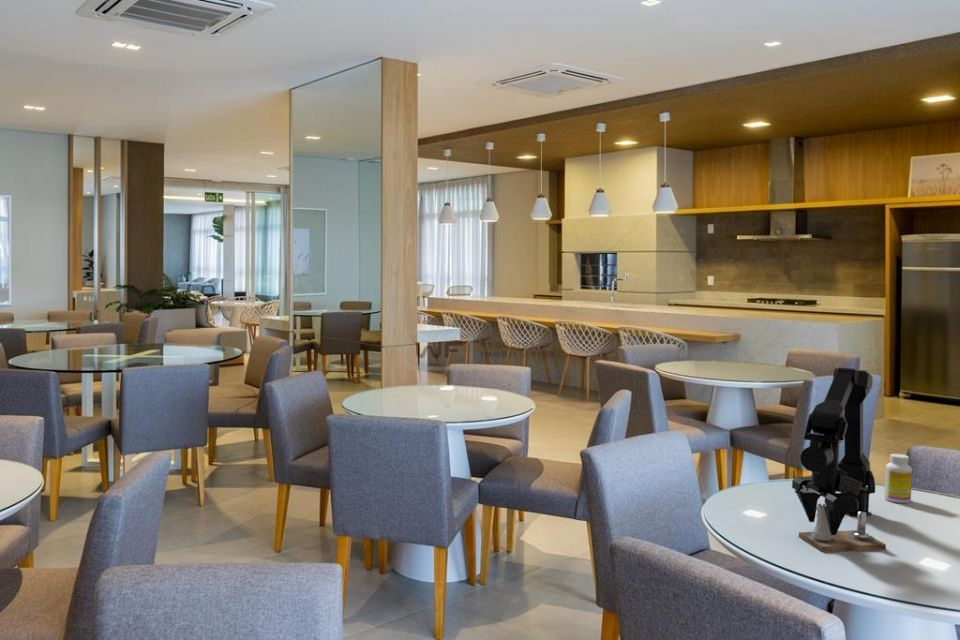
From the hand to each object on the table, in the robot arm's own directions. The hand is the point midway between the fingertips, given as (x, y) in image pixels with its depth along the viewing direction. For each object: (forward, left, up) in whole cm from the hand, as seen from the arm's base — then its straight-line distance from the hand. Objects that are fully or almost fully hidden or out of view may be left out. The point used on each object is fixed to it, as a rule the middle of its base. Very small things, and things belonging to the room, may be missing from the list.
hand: (822, 528), depth 189 cm
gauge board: (-5, 0, -4) cm, 6 cm away
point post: (-10, 0, -3) cm, 10 cm away
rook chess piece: (0, 0, -3) cm, 3 cm away
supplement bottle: (-41, -31, -4) cm, 52 cm away
